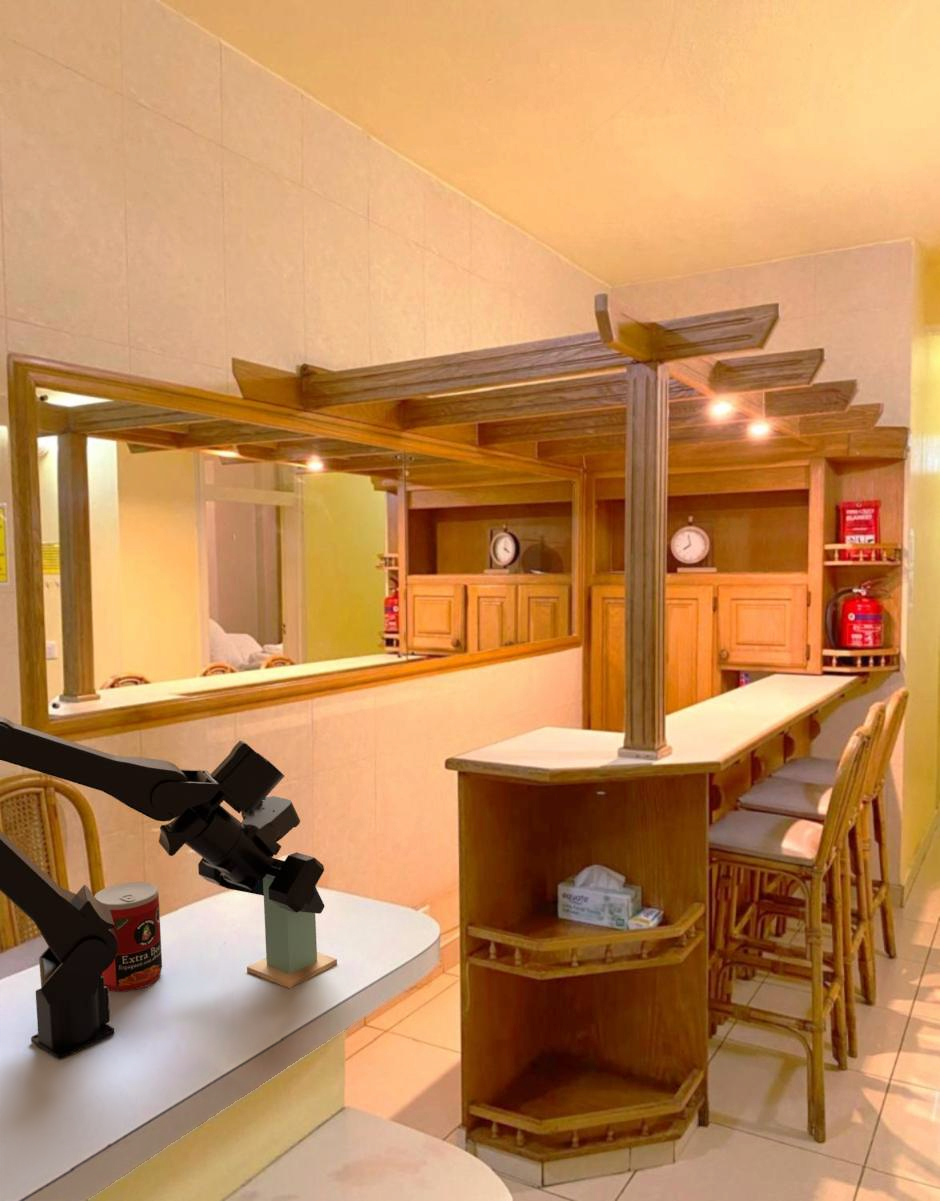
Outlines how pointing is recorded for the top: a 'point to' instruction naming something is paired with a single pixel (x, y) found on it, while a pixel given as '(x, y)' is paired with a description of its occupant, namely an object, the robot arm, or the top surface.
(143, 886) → the canned food
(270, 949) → the tea tin
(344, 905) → the top surface
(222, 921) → the top surface
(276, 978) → the coaster
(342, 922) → the top surface
